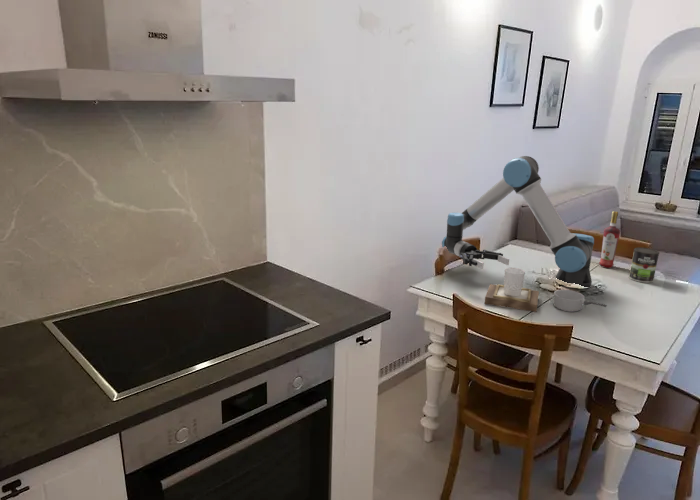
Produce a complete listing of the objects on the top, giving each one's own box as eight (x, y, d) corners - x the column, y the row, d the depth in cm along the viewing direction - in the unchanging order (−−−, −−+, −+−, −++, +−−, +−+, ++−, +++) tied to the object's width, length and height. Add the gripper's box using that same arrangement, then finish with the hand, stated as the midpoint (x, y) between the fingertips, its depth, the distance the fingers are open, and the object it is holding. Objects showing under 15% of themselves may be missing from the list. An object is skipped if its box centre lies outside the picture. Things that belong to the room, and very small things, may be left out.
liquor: (597, 266, 257) (606, 212, 249) (598, 263, 263) (607, 209, 255) (613, 269, 253) (622, 214, 245) (614, 265, 259) (624, 211, 251)
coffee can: (655, 284, 234) (661, 254, 230) (630, 281, 238) (635, 252, 234) (651, 277, 243) (657, 248, 239) (627, 274, 247) (632, 246, 243)
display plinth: (538, 297, 216) (539, 289, 215) (536, 311, 201) (537, 302, 200) (489, 290, 223) (490, 282, 222) (484, 303, 208) (485, 295, 207)
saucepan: (598, 322, 193) (600, 309, 191) (547, 307, 206) (548, 294, 205) (609, 314, 201) (611, 301, 199) (559, 299, 214) (561, 287, 213)
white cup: (524, 297, 207) (527, 274, 204) (505, 296, 207) (507, 273, 205) (519, 290, 215) (521, 267, 212) (500, 289, 215) (502, 267, 212)
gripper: (487, 255, 244) (517, 268, 225) (442, 261, 234) (471, 276, 215) (488, 240, 241) (519, 252, 223) (443, 246, 232) (472, 259, 213)
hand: (495, 264), depth 219 cm, fingers open, 13 cm apart
